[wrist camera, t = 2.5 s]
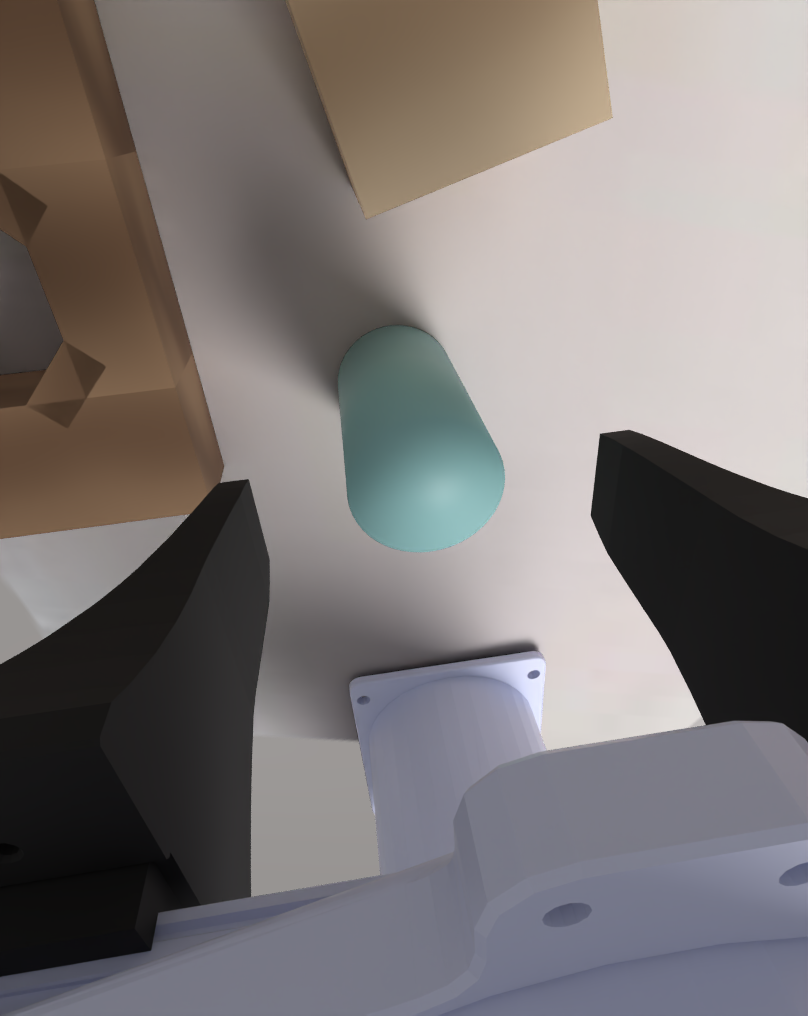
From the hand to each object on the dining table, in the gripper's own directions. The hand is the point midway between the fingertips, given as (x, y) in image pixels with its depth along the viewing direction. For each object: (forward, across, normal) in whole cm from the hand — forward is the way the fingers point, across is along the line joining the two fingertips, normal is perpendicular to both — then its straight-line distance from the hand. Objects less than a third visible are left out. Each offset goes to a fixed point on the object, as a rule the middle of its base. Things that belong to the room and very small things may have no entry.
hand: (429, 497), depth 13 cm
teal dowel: (+6, 0, 0) cm, 7 cm away
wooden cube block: (+7, -1, -8) cm, 10 cm away
